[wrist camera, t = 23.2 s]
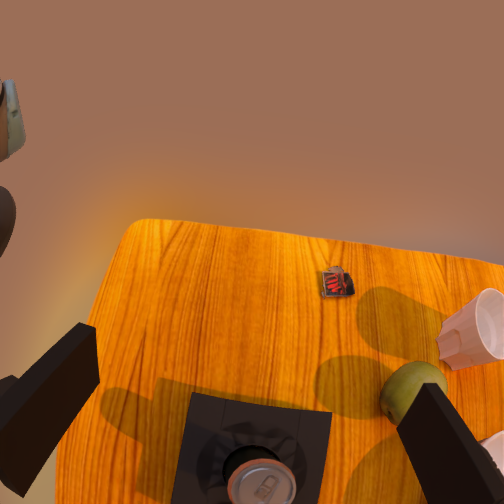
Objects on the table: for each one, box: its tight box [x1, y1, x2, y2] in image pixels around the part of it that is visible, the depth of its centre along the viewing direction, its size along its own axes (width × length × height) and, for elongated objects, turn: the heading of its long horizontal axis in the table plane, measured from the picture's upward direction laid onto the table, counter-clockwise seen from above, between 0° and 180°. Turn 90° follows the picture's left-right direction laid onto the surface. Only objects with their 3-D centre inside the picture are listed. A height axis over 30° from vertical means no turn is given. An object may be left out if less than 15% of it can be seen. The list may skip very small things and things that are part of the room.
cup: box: [436, 288, 504, 371], centre depth 33 cm, size 10×10×10 cm
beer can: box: [224, 445, 296, 504], centre depth 22 cm, size 5×5×12 cm
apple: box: [380, 361, 448, 426], centre depth 29 cm, size 8×9×8 cm
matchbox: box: [321, 266, 355, 300], centre depth 40 cm, size 5×5×1 cm
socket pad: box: [171, 392, 332, 504], centre depth 26 cm, size 15×15×4 cm
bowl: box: [478, 431, 504, 476], centre depth 21 cm, size 19×19×8 cm
